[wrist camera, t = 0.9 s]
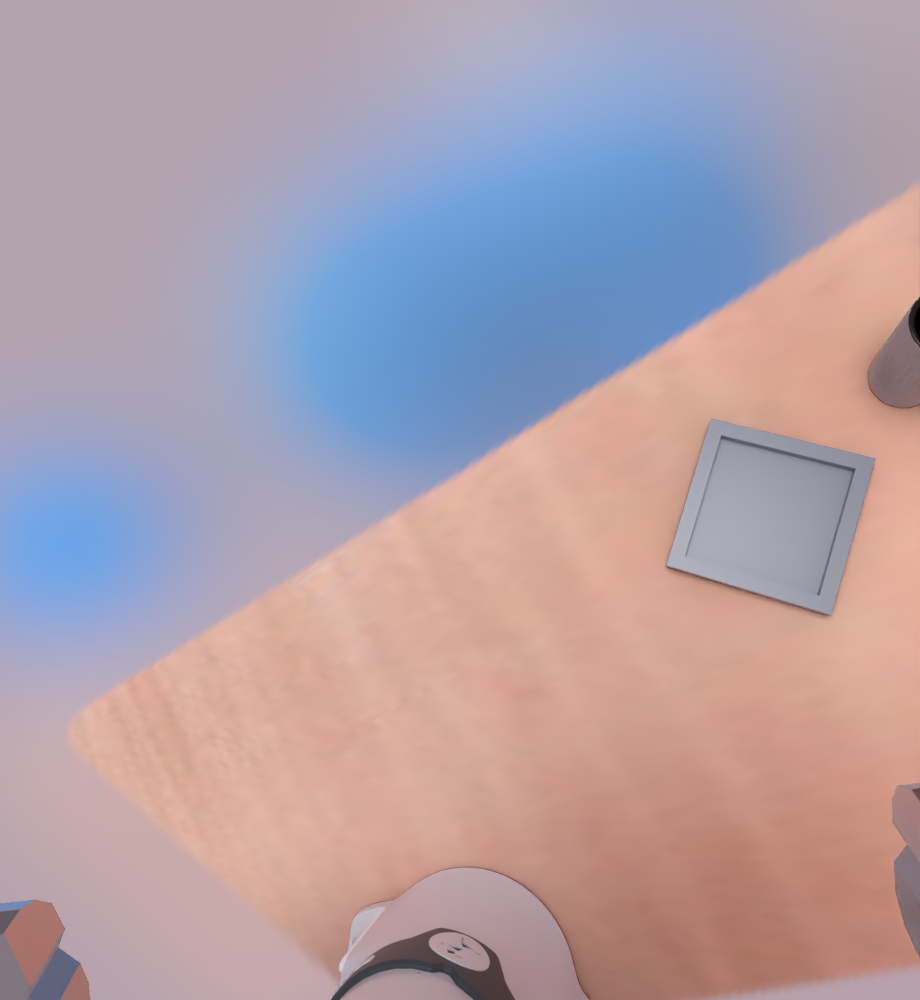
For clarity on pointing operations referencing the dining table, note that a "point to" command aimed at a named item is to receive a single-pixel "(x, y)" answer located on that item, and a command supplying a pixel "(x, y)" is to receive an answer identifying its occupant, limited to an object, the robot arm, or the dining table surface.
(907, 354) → the grey cylindrical container
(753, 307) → the dining table surface
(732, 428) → the tray
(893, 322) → the dining table surface
